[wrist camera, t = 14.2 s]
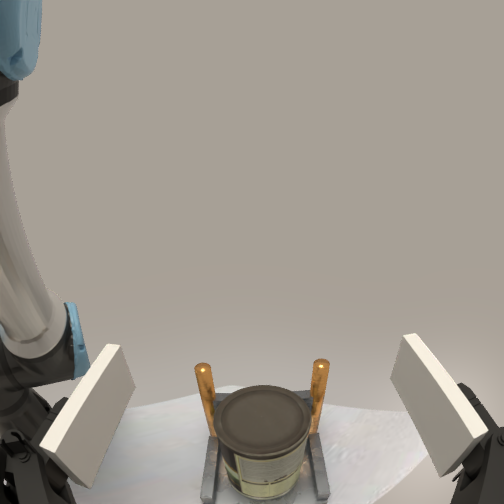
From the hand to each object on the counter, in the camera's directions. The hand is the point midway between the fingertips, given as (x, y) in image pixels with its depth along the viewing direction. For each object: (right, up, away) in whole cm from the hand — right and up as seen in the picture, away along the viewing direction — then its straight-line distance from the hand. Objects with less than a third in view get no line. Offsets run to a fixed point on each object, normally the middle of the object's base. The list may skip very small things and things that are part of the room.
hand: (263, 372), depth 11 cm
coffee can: (+1, -25, +18) cm, 31 cm away
